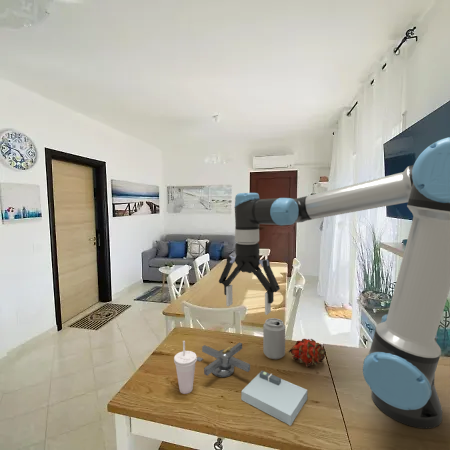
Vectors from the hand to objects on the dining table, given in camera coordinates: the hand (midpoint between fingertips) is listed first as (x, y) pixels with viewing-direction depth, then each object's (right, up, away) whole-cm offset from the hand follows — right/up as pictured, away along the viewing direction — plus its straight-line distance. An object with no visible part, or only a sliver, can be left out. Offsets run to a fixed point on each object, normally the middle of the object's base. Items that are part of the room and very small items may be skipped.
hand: (247, 308), depth 84 cm
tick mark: (-16, -19, +6) cm, 26 cm away
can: (+10, -19, +9) cm, 23 cm away
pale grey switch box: (+6, -20, -13) cm, 25 cm away
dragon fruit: (+20, -19, +3) cm, 28 cm away
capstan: (-7, -20, -1) cm, 21 cm away
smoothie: (-18, -20, -9) cm, 29 cm away
